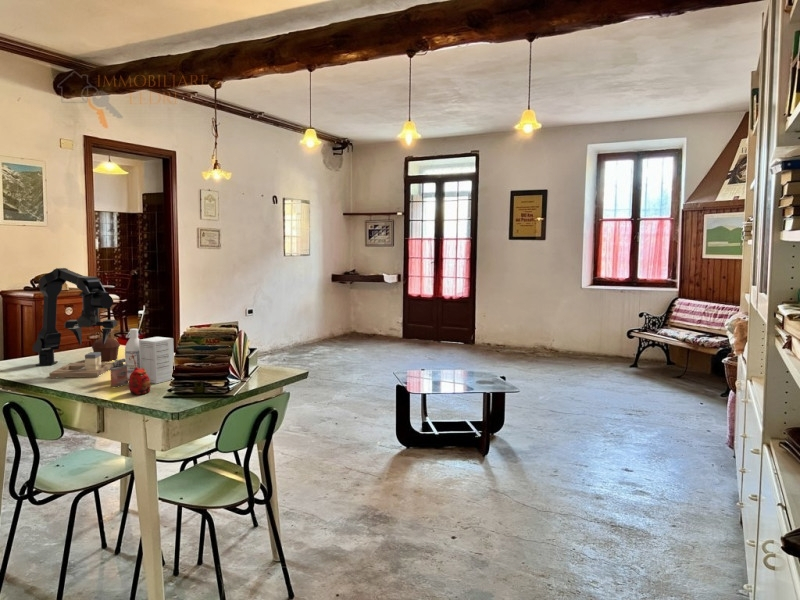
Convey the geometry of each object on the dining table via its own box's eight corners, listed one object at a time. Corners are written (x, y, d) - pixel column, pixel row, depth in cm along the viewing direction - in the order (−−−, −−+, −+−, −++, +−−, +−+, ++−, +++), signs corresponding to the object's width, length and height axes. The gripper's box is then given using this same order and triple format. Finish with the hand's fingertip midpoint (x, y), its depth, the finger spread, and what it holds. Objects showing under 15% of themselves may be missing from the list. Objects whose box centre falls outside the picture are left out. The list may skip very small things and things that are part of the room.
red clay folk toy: (141, 396, 196) (140, 355, 194) (124, 395, 197) (122, 354, 195) (154, 390, 203) (153, 351, 202) (137, 389, 204) (136, 350, 203)
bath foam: (144, 378, 221) (143, 329, 219) (125, 380, 218) (124, 330, 216) (144, 374, 227) (143, 327, 225) (126, 376, 224) (124, 328, 222)
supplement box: (175, 379, 221) (174, 338, 219) (156, 384, 213) (155, 341, 211) (158, 376, 225) (157, 336, 223) (139, 381, 217) (138, 339, 215)
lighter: (116, 388, 206) (115, 362, 205) (108, 387, 207) (107, 361, 206) (130, 382, 214) (129, 357, 213) (123, 382, 214) (122, 357, 213)
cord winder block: (91, 370, 233) (90, 352, 232) (101, 370, 233) (100, 352, 233) (85, 374, 227) (84, 355, 226) (95, 373, 227) (95, 354, 227)
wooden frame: (70, 367, 238) (70, 362, 237) (114, 366, 240) (114, 362, 240) (49, 378, 219) (49, 373, 219) (97, 377, 222) (97, 372, 221)
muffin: (88, 362, 247) (87, 341, 246) (96, 357, 258) (95, 336, 257) (117, 361, 250) (116, 340, 249) (123, 357, 261) (122, 336, 260)
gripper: (57, 309, 218) (59, 348, 220) (107, 309, 221) (108, 347, 222) (69, 306, 229) (71, 343, 231) (117, 306, 232) (118, 342, 233)
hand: (92, 344), depth 229 cm, fingers open, 9 cm apart
